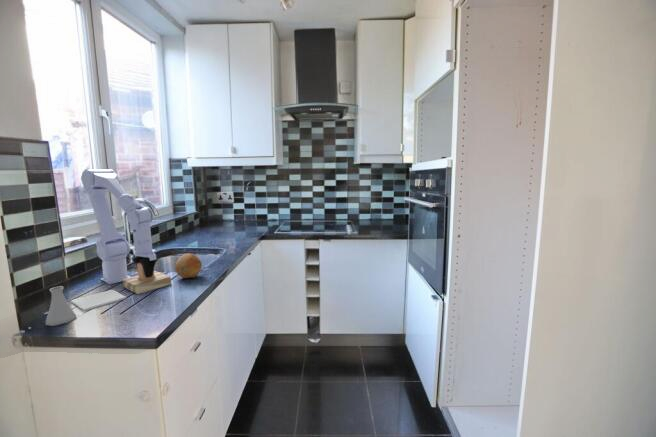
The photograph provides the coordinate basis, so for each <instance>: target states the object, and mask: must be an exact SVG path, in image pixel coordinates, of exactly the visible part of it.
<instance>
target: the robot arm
mask: <svg viewBox="0 0 656 437" xmlns="http://www.w3.org/2000/svg"><path fill="white" fill-rule="evenodd" d="M80 180H81V183H82V186H83V189H84V192H85V193H86V194H87V195H88V198H89V200H90V204H91V207H92V210H93V213H94V215H95V219H96V222H97V225H98V228H99V229H98V230H99V231H100V234H101V236H100V238H99V239H98V240H97V241H96V242H95V245H96V254H97V257H98V258H99V259H101V261H102V263H101V267H102V275H103V277H102V278H100V280H101V281H103V282H105V283H107V284H109V285H113V284H117V283H120V282H123V280H122V279H126V278H130V277H131V276H130V275H128V268H127V267H128V266H127V257H128V254H129V253H130V251H131V246H130V243H129V242H128V240H127V239H126V236H125V235H123V234H122V233H120V232H118V230H117V227H116V223H115V221H114V218H113V215H112V212H111V208H110V205H109V201H108V199H107V195H106V194H107V193H108V192H110V194H112V195H113V196H114V197H115V198H116V199H117V202H116V203H117V205H118V206H119V207H120V208H121V209H122V211H124V212H125V214H126V215H127V216H126V219H127V221H128V224H129V226H130V229H131V230H132V237H133V238H132V239H133V247H134V248H133V249H132V255H134V256H133V257H132V258H131V260H132V261H133V262H134V264H135V265H136V267H137V263H141V264H142V266H143V269H144V273H145V276H146V278H148V277H152V276H153V271H155V267H156V263H157V262H158V257H157V254H156V252H157V250H156V249H153V241H152V232H151V222H153V219H154V213H153V212H152V209H151V208H150V207H146V206H144V205H142V204H141V203H140V202H139V201H138V199H136V197H135V196H134V195H133V194H131V193H127V192H126V191H125V189H124V188H123V186H121V184H120V183H119V181H118V174H117V173H116V172H115V170H113V169H111V168H108V169H88V168H86V169H84V170H83V171H82V174H81V178H80Z"/></svg>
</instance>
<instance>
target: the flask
mask: <svg viewBox="0 0 656 437" xmlns="http://www.w3.org/2000/svg"><path fill="white" fill-rule="evenodd" d="M63 291H64V286H62V285H59V286H55V287H52V288H49V292H50V293H51V294H50V295H51V300H50V305H49V310H48V313H47V316H46V320H45V326H48V327H49V326H51V327H55V326H59V325H63V324H66V323H70V322H72V321H73V320H76V319H77V314H76V313H75V311H74V310H73V308H72V307H71V305H70V304H69V302H68V301H67V299H66V297H65V295H64V292H63Z"/></svg>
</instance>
